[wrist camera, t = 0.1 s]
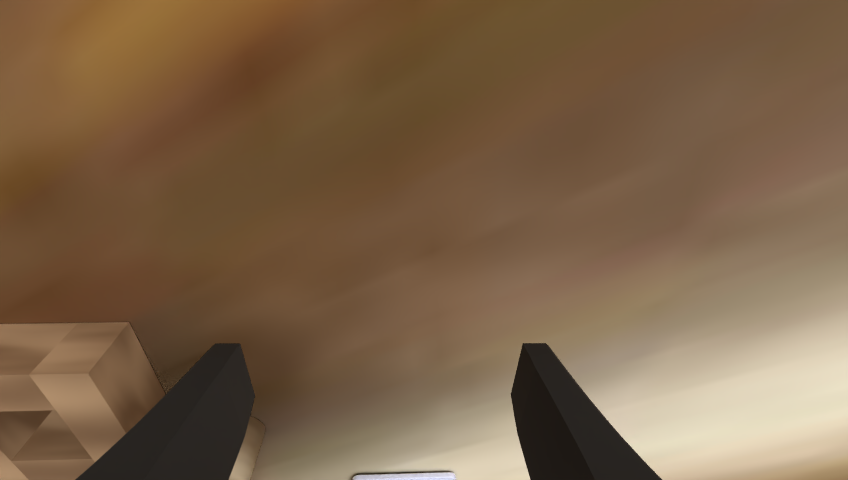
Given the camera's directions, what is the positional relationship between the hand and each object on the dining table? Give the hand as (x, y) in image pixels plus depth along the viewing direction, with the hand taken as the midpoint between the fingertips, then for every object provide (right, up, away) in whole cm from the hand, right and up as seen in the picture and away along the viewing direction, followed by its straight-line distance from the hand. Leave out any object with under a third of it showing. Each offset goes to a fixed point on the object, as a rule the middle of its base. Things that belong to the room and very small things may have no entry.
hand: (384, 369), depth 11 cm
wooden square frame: (-20, -5, +14) cm, 26 cm away
